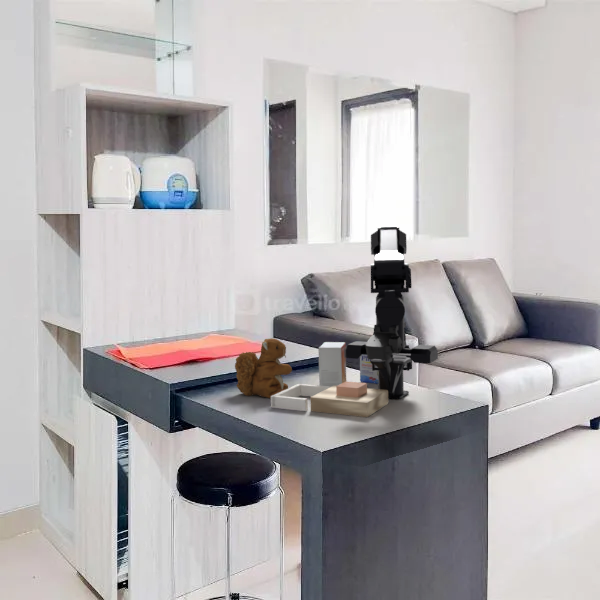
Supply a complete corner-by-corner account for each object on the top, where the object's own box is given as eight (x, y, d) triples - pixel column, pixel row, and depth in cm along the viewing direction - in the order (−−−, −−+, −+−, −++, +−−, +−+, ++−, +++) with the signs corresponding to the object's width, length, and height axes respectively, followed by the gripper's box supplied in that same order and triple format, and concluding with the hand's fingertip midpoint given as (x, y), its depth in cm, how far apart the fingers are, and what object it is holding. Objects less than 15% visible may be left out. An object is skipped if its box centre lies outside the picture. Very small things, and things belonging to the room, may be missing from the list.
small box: (342, 391, 172) (341, 347, 171) (319, 390, 173) (317, 347, 172) (347, 383, 180) (346, 341, 179) (324, 383, 181) (323, 341, 180)
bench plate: (334, 398, 166) (334, 385, 165) (388, 403, 160) (388, 390, 159) (310, 411, 155) (310, 397, 155) (367, 417, 149) (367, 402, 149)
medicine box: (359, 382, 181) (358, 348, 180) (368, 378, 185) (367, 345, 184) (388, 385, 177) (387, 350, 176) (396, 381, 181) (395, 347, 180)
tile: (346, 390, 160) (345, 381, 160) (367, 392, 158) (367, 383, 158) (336, 395, 156) (336, 386, 156) (358, 397, 153) (357, 388, 153)
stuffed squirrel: (290, 399, 166) (288, 342, 165) (229, 399, 168) (227, 342, 167) (295, 388, 176) (293, 335, 175) (238, 389, 178) (236, 335, 177)
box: (298, 394, 170) (298, 383, 170) (331, 397, 167) (331, 386, 166) (271, 407, 159) (270, 396, 159) (305, 411, 155) (305, 399, 155)
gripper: (332, 322, 148) (334, 397, 150) (420, 326, 139) (421, 405, 141) (354, 315, 158) (356, 385, 160) (438, 318, 149) (438, 393, 151)
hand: (391, 392), depth 153 cm, fingers closed
